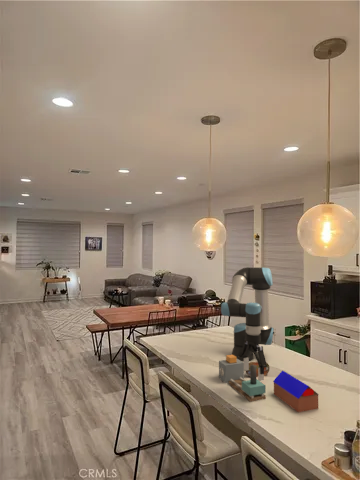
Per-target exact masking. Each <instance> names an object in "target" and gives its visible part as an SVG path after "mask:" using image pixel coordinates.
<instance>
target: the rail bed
mask: <svg viewBox="0 0 360 480" xmlns="http://www.w3.org/2000/svg"><path fill="white" fill-rule="evenodd" d="M242 381H247V380H245V378H244V379H243V378H241V377H240V379H238V380H233V379H230V381H229V383H228V384H229V386H231V388H233V389H235V390H236V392H238V393H239V394H241V395H242V396H243V397H244V398H245V399H246V400H247V401H248V402H250V403H251V402H256V401H260V400H265V399H266V397H267V396H266V395H265V393H264V394H258V395H253V396H250V395H248V394H247V393H246V392H245V391H243V390H242Z"/></svg>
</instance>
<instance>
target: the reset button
mask: <svg viewBox="0 0 360 480" xmlns="http://www.w3.org/2000/svg"><path fill="white" fill-rule="evenodd" d="M225 360H226V361H227V362H229V363H235V362H237V357H236V356H234V355H232V354H227V355H225Z"/></svg>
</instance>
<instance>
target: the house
mask: <svg viewBox="0 0 360 480" xmlns="http://www.w3.org/2000/svg"><path fill="white" fill-rule="evenodd" d="M272 382H273V395H275V396H276V397H277V398H279V399H280V400H282V401H283V402H284V403H285V404H287V406H289V407H291V408H292V409H293V410H295V411H296V412H297V413H301V412H302V413H303V412H308V411H313V410H318V409H319V396H320V395H319V393H318V392H316V391H315V390H314V389H313V388H311V386H309V385H308V384H306V383H305V382H303V381H301V380H299V379H298V378H296V377H294V376H293V375H291V374H289V373H288V372H286V371H285V370H282V371H281V372H280V373H279V374H278V375H277V376H276V377H275V378H274V380H273V381H272Z"/></svg>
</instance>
